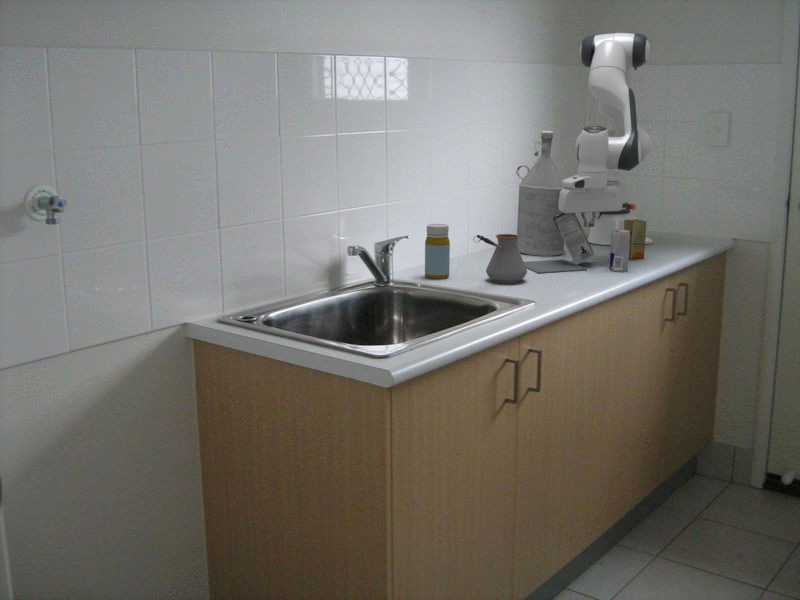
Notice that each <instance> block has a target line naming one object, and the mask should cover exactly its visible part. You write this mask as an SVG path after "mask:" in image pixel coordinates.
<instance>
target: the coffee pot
mask: <svg viewBox="0 0 800 600" xmlns="http://www.w3.org/2000/svg"><path fill="white" fill-rule="evenodd" d="M475 238H478V239H479V240H478V241H477V243H479V242H480V241H483V242H484V243H486V244H488V245H490V246H494V247H495V248H494V252H493V254H492V256H491V258H490V260H489V262H488V265H487V267H486V269H485V271H486V274H487V276H488V277H489V278H490V279H492V282H494V283H497V284H516V283H519V282H521V280H523V279H524V278H525V277H526V275H527V273H528V269H527V268H526V267H525V264H524V262H525V261H524V260H523V256H522V253H521V252H520V251H519V249H518V246H517V244H516V243H517V239H518V238H519V236H518V235H517V234H513V233H512V234H511V233H509V234H508V233H502V234H496V235H495V238H496V239H497V243H495V242H494V241H492V240H491V239H490V238H488V237H484V236H483V235H479V234H477V235H475V236H474V237H473V239H472V240H473V243H476V240H475Z"/></svg>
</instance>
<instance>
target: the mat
mask: <svg viewBox="0 0 800 600" xmlns="http://www.w3.org/2000/svg"><path fill="white" fill-rule="evenodd" d="M523 262H524V264H525V267H526V270H529V271H532V272H534V273H536V274H541V275H542V274H553V273H566V272H567V273H568V272H586V271H588V268H585V267H582V266H581V265H579V264H577V265H575V263H573V262H569V261H567V260H566V259H548V260H545V259H544V260H532V261H523Z"/></svg>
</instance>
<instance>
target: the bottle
mask: <svg viewBox="0 0 800 600" xmlns="http://www.w3.org/2000/svg"><path fill="white" fill-rule="evenodd" d="M449 230H450V229H449V225H448V224H445V223H430V224H429V223H428V224H427V225H426V239H425V242H424V276H425V277H426V278H427V279H430V278H431V280H445V279H447V278H449V276H450V260H451V258H450V255H451V253H450V250H451V249H450V247H451V244H450V238H449ZM444 278H445V279H444Z"/></svg>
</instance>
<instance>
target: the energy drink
mask: <svg viewBox="0 0 800 600" xmlns="http://www.w3.org/2000/svg"><path fill="white" fill-rule="evenodd" d="M629 243H630V232H629V230H624V229H615V230H612V233H611V245H610V249H609V250H610V255H609V268H608V269H609V270H610V271H611V272H615V273H616V272H617V273H625V272H627V271H629V260H630V259H629Z"/></svg>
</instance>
